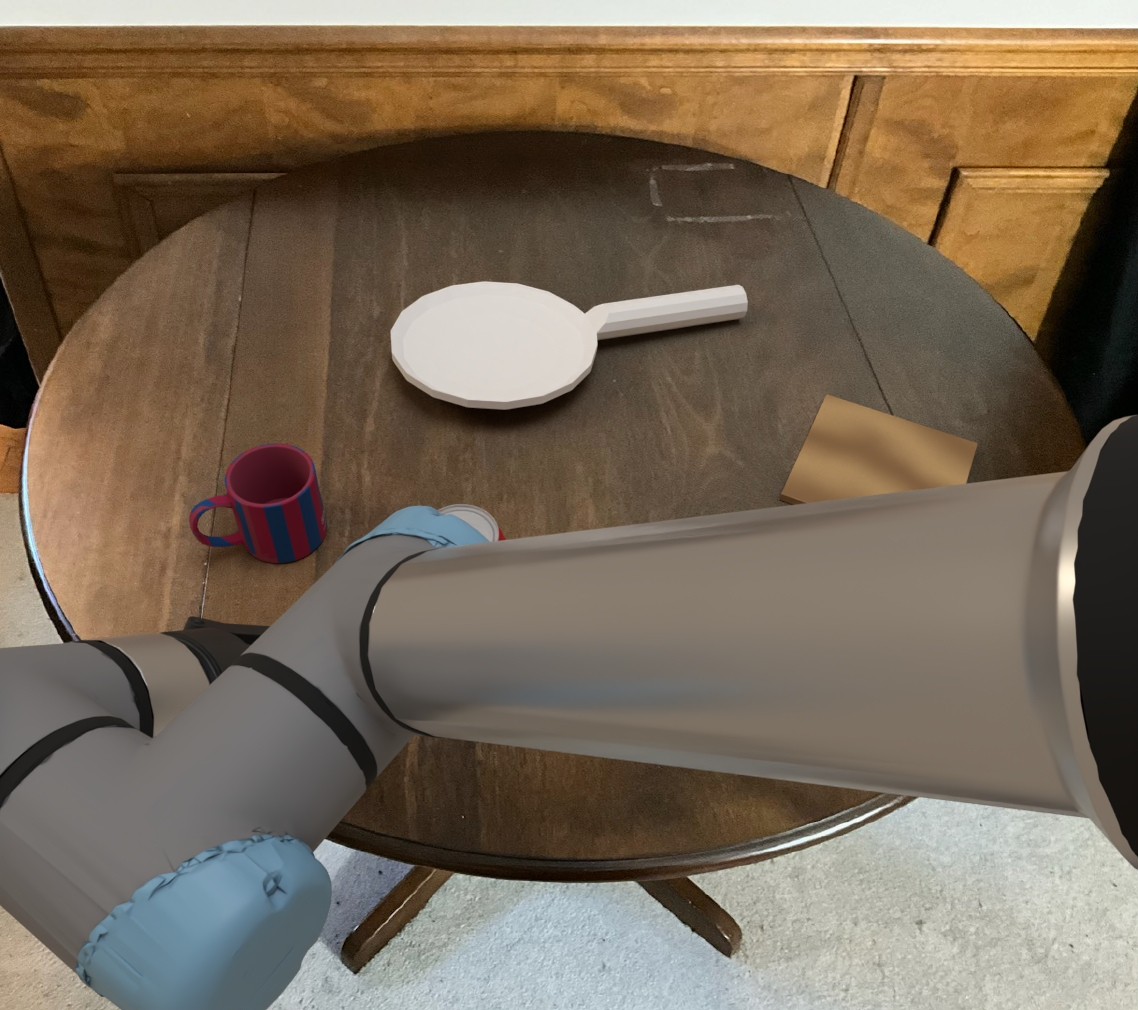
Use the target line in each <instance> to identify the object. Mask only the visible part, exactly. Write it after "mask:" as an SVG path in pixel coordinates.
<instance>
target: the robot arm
mask: <svg viewBox="0 0 1138 1010" xmlns="http://www.w3.org/2000/svg"><path fill="white" fill-rule="evenodd" d="M437 510H438V509H436V508H434V507H432V506H430V505H411V506H407V507H406V506H405V507H403V508H401V509H399V510H397V511H395V512H393V513H392V514H390V515H389V516H388V517H387V518H385V519H384V520H383V521H382V522H381V523H379V524H378V525H377V526H376V527H374V528H373V529H372V530H370V531H369V532H368V533H367V534H365V535H364V536H362V537H361V538H358V539H357V540H355V541H354V542H352V543H351V544H349V545H348V546H347V547H346V548H345V550H344V551H343V552H342V554H341V555H340V556H339V557H337V559H336V561H335V563H334V564H333V565H332V566H331V567H330V568H329V569H328V570H327V571H325V572H324V573H323V574H322V576H320V577H319V579H318V580H316V581H315V582H314V583H313V584H312V585H311V587H309V588H308V589H307V590H306V591H305V592H304V593H303V594H302V595H301V596H300V597H299V598H298V599H297V600H296V601H294V603H293V604H292V605H290V606H289V608H288V609H286V611H284V612H283V613H282V614H281V615H280V617H278V618H277V619H276V620H275V621H274V622H273V623H272V624H271V625H259V624H243V623H230V622H229V623H227V622H221V621H217V620H212V619H209V618H203V617H200V616H195V615H194V616H189V617H188V618H187V619H186V622H185V624H184V627H183V629H179V630H171V631H162V632H137V633H128V634H119V635H112V636H103V637H94V638H86V639H79V640H73V641H72V640H70V641H65V642H62V643H49V644H36V645H23V646H9V647H8V646H7V647H0V907H1V908H3V909H4V910H5V911H6V912H7V913H8V914H9V915H10V916H11V917H12V918H13V919H14V920H15V921H17V922H18V923H19V924H20V925H21V926H22V927H24V928H25V929H26V930H27V931H28V932H29V933H30V934H31V935H32V936H34V938H36V940H38V941H39V942H40V943H41V944H42V945H44V946H45V947H46V948H47V949H48V950H49V951H50V952H51V953H52V954H53V955H55V956H56V957H57V958H58V959H59V960H60V961H61V962H62V963H63V964H64V965H66V967H68V968H69V969H70V970H71V971H72V972H74V973H75V974H76V975H77V976H78V979H79V980H80V981H81V983H83V984H84V985H85V986H86V987H88V988H89V989H91V990H92V991H94V992H95V993H96V994H97V995H99V997H101V998H105V999H107V1000H108V1001H109V1002H110V1003H112V1004H113V1005H114V1006H115V1007H117V1008H118V1009H119V1010H268V1009H269V1008H270V1007H271V1006H272V1005H273V1004H274V1002H276V1001H277V999H279V997H280V996H281V995H282V994H283V993H284V991H285V990H286V989H287V988H288V987H289V985H290V984H291V983H292V982H293V980H294V979H295V977H296V976H297V975H298V973H299V972H300V970H301V969H302V963H303V961H304V958H305V957H306V956H307V953H308V952H309V951H310V949H311V948H312V947H313V946H314V945H315V944H316V943H317V942H318V940H319V938H320V936H321V935H322V932H323V930H324V927H325V925H326V922H327V919H328V916H329V912H330V908H331V904H332V897H333V890H332V889H333V888H332V887H333V885H332V880H331V876H330V874H329V872H328V870H327V868H326V867H325V865H323V863H322V862H321V861H320V860H318V859H317V858H316V855H315V854H314V853H315V852H316V850H317V849H318V847H320V846H321V844H322V843H323V842H324V841H325V840H326V838H328V836H329V835H330V833H332V832H333V830H334V829H335V828H336V827H337V825H338V824H339V823H340V822H341V821H342V820H343V819H344V818H345V816H346V815H347V814H348V813H349V812H350V811H351V809H352V808H353V807H354V806H355V805H356V803H357V802H358V801H359V800H360V799H361V797H363V795H364V794H365V793H366V791H367V790H368V789H369V787H370V786H371V785H372V784H373V782H375V780H376V779H377V778H378V777H379V776H380V775H381V773H383V771H384V770H385V769H386V768H387V767H388V765H390V763H391V762H392V761H393V760H394V759H395V758H396V757H397V755H399V754H400V753H401V751H402V750H403V749H404V748H405V747H406V745H407V744H408V743H409V742H410V740H412V739H413V737H415V736H419V737H429V738H438V739H442V738H443V739H453V740H460V741H469V742H475V743H476V742H477V743H484V744H485V743H486V744H493V745H500V746H509V747H516V748H524V749H530V750H531V749H533V750H541V751H548V752H557V753H565V754H573V755H581V756H587V757H596V758H603V759H613V760H619V761H628V762H636V763H645V764H651V765H659V766H667V767H675V768H682V769H683V768H684V769H691V770H700V771H707V772H708V771H709V772H715V773H723V774H733V775H739V776H740V775H741V776H747V777H754V778H755V777H756V778H764V779H771V780H780V781H786V782H787V781H788V782H795V783H802V784H803V783H804V784H812V785H819V786H827V787H835V788H842V789H843V788H844V789H852V790H859V791H867V792H875V793H883V794H891V795H900V796H906V797H907V796H908V797H915V798H922V799H930V800H939V801H945V802H955V803H964V804H971V805H980V806H988V807H995V808H1003V809H1011V810H1018V811H1019V810H1020V811H1027V812H1033V813H1034V812H1035V813H1043V814H1050V815H1058V816H1065V817H1066V816H1067V817H1075V818H1083V819H1089V820H1090V821H1091V822H1092V823H1093V824H1094V826H1095V827H1096V828H1097V829H1098V830H1099V831H1100V832H1101V833H1102V835H1103V836H1104V837H1105V838H1106V839H1107V840H1108V841H1109V842H1110V844H1111V845H1112V846H1113V848H1115V849H1116V851H1117V852H1118V853H1119V854H1120V855H1121V856H1122V857H1123V858H1124V860H1126V861H1127V862H1128V863H1129V864H1130V865H1131V867H1133V869H1135V870H1136V871H1138V414H1134V415H1127V416H1123V417H1121V418H1117V419H1114V420H1112V421H1110V423H1108V424H1107V425H1105V426H1104V427H1103V428H1101V430H1100V431H1099V432H1098V433H1097V434H1096V436H1095V437H1094V438H1093V439H1092V440H1091V441H1090V442H1089V444H1088V446H1087V447H1086V448H1085V449H1084V451H1083V452H1082V453H1081V455H1080V456H1079V458H1078V459H1077V460H1076V462H1075V463H1074V464H1073V465H1072V467H1071V469H1069V470H1068V471H1059V472H1051V473H1042V474H1035V475H1026V476H1018V477H1017V476H1016V477H1010V478H1001V479H995V480H993V479H992V480H986V481H985V480H984V481H978V482H969V483H968V482H967V483H966V484H960V485H952V486H944V487H935V488H927V489H919V490H911V491H903V492H895V493H886V494H878V495H870V496H862V497H854V498H845V499H837V500H829V501H821V502H813V503H805V504H796V505H793V504H789V505H781V506H780V505H779V506H773V507H764V508H756V509H755V508H754V509H747V510H741V511H740V510H739V511H732V512H723V513H716V514H708V515H700V516H692V517H682V518H674V519H666V520H658V521H650V522H649V521H648V522H643V523H641V522H640V523H634V524H633V523H632V524H626V525H617V526H610V527H609V526H608V527H601V528H600V527H599V528H591V529H584V530H575V531H568V532H559V533H554V534H543V535H535V536H526V537H517V538H512V539H511V538H510V539H505V540H502V541H493V542H490V541H489V540H488V539H487V538H486V537H485V536H483V535H482V534H481V533H480V532H479V531H478V530H477V529H475V528H474V527H472V526H471V525H470V524H468V523H467V522H466V521H464V520H462V519H461V518H459V517H457V516H455V515H453V514H447V515H442V514H441V513H440V512H438V511H437Z"/></svg>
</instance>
